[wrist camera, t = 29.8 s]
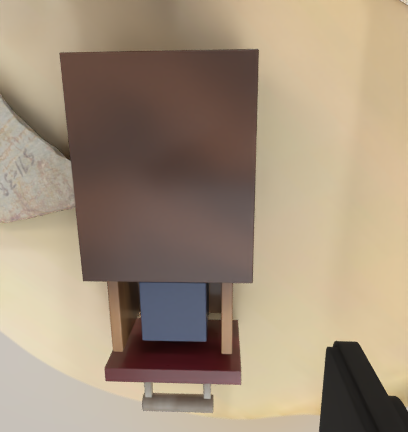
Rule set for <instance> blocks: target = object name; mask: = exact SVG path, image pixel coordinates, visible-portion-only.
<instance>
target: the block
mask: <svg viewBox="0 0 408 432" xmlns="http://www.w3.org/2000/svg"><path fill="white" fill-rule="evenodd" d="M139 293H140V309H141V326H142V340H145V341H193V342H206V341H207V329H208V315H209V283H194V282H139Z"/></svg>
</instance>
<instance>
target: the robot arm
mask: <svg viewBox="0 0 408 432" xmlns="http://www.w3.org/2000/svg"><path fill="white" fill-rule="evenodd" d="M400 1H401V2H403V3H405V4H407V5H408V0H400ZM319 432H408V411H407V409H406V407H405V406H404V404H403V403H402V401H401V400H400V399H399V398H398V397H396V396H388V394H387V393H386V391H385V389H384V387H383V385H382V384H381V382H380V380H379V378H378V377H377V375H376V373H375V371H374V370H373V368H372V366H371V364H370V363H369V361H368V359H367V357H366V355H365V354H364V352H363V350H362V348H361V347H360V345H359V343H358V342H344V341H335V342H334V344H333V347H327V349H326V357H325V369H324V380H323V392H322V403H321V415H320V427H319Z"/></svg>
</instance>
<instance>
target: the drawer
mask: <svg viewBox="0 0 408 432" xmlns="http://www.w3.org/2000/svg"><path fill="white" fill-rule="evenodd" d="M107 286H108V297H109V309H110V321H111V332H112V344H113V351H112V353H111V355H110V357H109V360H108V362H107V364H106V366H105V378H106V381H118V382H144V387H145V393H144V395H143V400H142V408H143V411H171V412H202V413H213V395H211V384H234V385H241V359H240V344H239V328H238V320H232V313H233V283H209V313H221V320H208V329H207V341H206V342H193V341H145V340H142V326H141V318H137V316H138V314H139V311H141V309H140V293H139V282H115V281H107ZM152 382H157V383H196V384H203V387H204V394H170V393H153V383H152Z"/></svg>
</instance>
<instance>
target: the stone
mask: <svg viewBox="0 0 408 432" xmlns="http://www.w3.org/2000/svg"><path fill="white" fill-rule="evenodd" d="M71 208H75V197H74V188H73V178H72V168H71V160H69V159H67V158H66V157H65V156H64V155H63V154H62V153H61V152H60V151H59V150H58V148H56V147H54V146H52V145H51V144H49V143H48V142H46V141H45V140H43V139H42V138H41V137H40V136H39V135H38V134H37V133H36V132H35V131H34V130H33V129H32V128H31V127H30V126H28V125H27V124H26V122H25V121H24V120H23V119H21V118H20V117H19V116H18V115H17V114H16V113H14V111H13V110H12V108H11V107H10V106H9V105H8V104H7V103H6V101H5V100H4V98H3V96H2V95H1V94H0V222H3V223H8V222H13V221H17V220H22V219H28V218H32V217H36V216H42V215H45V214H49V213H52V212H57V211H62V210H65V209H71Z"/></svg>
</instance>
